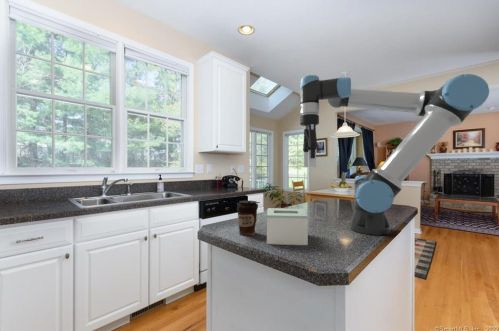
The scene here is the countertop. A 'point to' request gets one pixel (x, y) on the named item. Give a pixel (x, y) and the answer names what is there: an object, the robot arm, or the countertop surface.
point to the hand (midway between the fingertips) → (309, 167)
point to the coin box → (287, 226)
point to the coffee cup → (247, 217)
